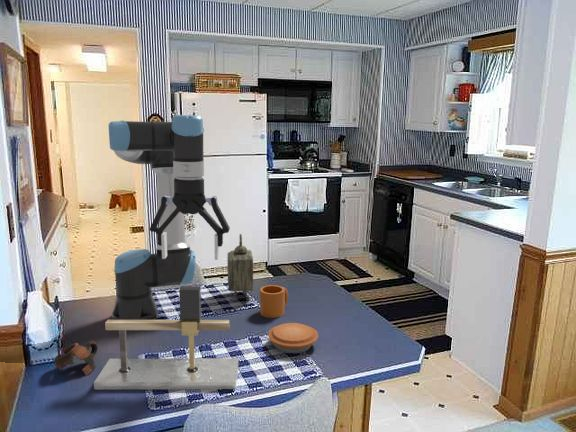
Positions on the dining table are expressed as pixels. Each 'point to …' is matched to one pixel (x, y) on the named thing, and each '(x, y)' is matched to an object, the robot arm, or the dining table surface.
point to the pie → (293, 337)
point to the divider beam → (155, 325)
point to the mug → (273, 301)
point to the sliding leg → (190, 316)
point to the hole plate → (169, 374)
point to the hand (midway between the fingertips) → (190, 257)
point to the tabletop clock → (240, 270)
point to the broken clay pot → (78, 356)
